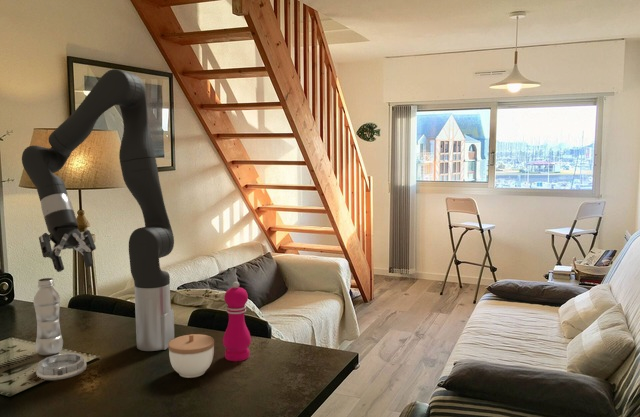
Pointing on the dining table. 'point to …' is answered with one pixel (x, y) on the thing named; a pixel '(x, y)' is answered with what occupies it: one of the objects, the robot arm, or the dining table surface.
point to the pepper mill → (236, 325)
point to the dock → (61, 366)
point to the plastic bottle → (47, 318)
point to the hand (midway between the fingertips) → (75, 268)
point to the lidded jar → (191, 354)
